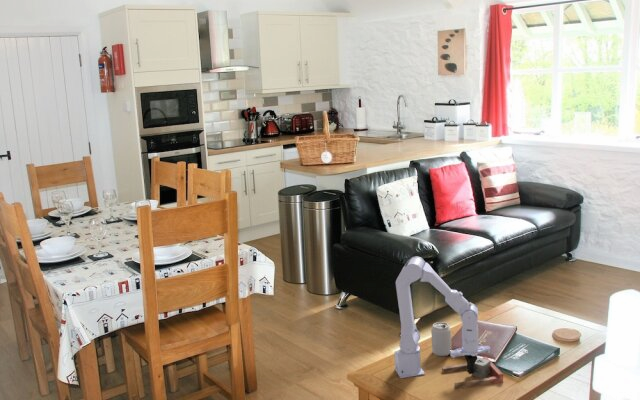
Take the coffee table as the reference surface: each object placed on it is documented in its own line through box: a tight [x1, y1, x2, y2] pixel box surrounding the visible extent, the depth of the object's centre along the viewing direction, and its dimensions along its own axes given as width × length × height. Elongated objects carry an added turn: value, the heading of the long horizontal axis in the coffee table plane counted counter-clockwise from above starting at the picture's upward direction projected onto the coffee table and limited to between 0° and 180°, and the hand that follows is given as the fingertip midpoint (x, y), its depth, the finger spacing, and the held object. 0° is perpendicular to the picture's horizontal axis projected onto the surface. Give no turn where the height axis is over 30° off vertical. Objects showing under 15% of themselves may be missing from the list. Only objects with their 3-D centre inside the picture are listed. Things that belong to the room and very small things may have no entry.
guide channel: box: [441, 356, 504, 390], centre depth 223 cm, size 18×14×3 cm
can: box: [430, 321, 452, 357], centre depth 242 cm, size 8×8×12 cm
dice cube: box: [471, 356, 492, 379], centre depth 224 cm, size 5×5×5 cm
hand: (470, 372), depth 223 cm, fingers closed, pressing on dice cube
